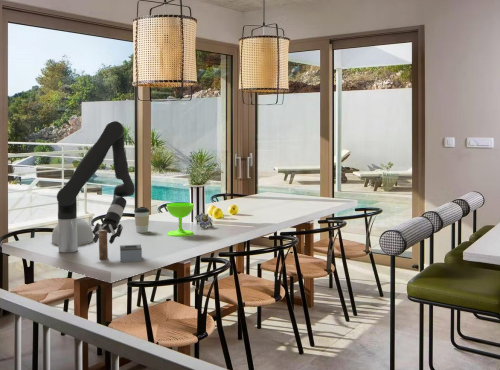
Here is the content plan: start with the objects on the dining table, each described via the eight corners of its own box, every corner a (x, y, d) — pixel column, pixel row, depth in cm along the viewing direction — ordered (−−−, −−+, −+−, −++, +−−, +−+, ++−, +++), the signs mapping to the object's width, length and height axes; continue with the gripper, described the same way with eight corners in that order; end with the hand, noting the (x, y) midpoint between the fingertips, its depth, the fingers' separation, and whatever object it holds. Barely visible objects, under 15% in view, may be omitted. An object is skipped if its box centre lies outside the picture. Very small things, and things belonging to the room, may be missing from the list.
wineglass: (161, 234, 339) (160, 204, 337) (180, 230, 351) (179, 201, 349) (180, 237, 329) (180, 207, 327) (199, 233, 342) (199, 204, 340)
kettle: (54, 237, 330) (52, 199, 328) (94, 235, 335) (93, 198, 333) (49, 246, 306) (48, 205, 304) (93, 244, 311) (91, 203, 309)
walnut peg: (99, 259, 275) (98, 231, 274) (99, 258, 279) (98, 230, 278) (107, 259, 276) (107, 231, 275) (107, 257, 280) (107, 229, 278)
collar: (120, 262, 271) (120, 249, 270) (120, 257, 280) (120, 245, 280) (141, 260, 273) (141, 248, 272) (140, 256, 283) (140, 244, 282)
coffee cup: (148, 233, 343) (148, 208, 342) (133, 233, 343) (133, 208, 341) (150, 230, 352) (149, 206, 351) (135, 230, 352) (135, 206, 350)
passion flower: (205, 236, 359) (197, 223, 353) (196, 231, 368) (188, 217, 361) (218, 225, 363) (211, 212, 357) (209, 220, 372) (201, 207, 365)
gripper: (98, 210, 285) (86, 237, 275) (123, 211, 281) (112, 238, 271) (104, 219, 291) (92, 245, 281) (129, 220, 287) (118, 247, 277)
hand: (102, 242), depth 276 cm, fingers open, 8 cm apart
